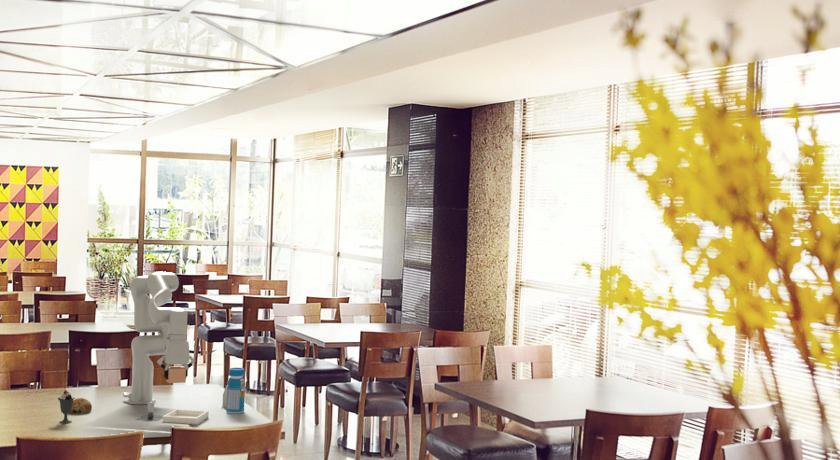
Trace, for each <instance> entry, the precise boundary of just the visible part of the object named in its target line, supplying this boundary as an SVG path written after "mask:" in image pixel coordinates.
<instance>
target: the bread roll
mask: <svg viewBox="0 0 840 460" xmlns="http://www.w3.org/2000/svg"><path fill="white" fill-rule="evenodd" d="M92 408H93V405H92V403H91V402H90V401H89V399H86V398H84V397H79V398H75V399H74V400H73V404H72V409H71V411H70V412H69V413H68V414H70V415H82V414H84V415H85V414H88V413H90V412H91V411H92Z"/></svg>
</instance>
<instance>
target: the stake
mask: <svg viewBox="0 0 840 460" xmlns="http://www.w3.org/2000/svg"><path fill="white" fill-rule="evenodd" d="M154 414H155V402H149V403H148V404H147V414H142V415H140V416H137V418H135V419H134V420H135V421H150V422H151V421H152V422H159V421H160V420H162V416H163V415H157V414H155V415H154Z"/></svg>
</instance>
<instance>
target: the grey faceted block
mask: <svg viewBox="0 0 840 460" xmlns="http://www.w3.org/2000/svg"><path fill="white" fill-rule="evenodd" d="M227 387H228V385H225V388H224V390H223V394H222V405H221V407H222V408H225V409H226V402H227Z"/></svg>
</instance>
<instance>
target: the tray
mask: <svg viewBox="0 0 840 460" xmlns="http://www.w3.org/2000/svg"><path fill="white" fill-rule="evenodd" d="M161 416H162V419H161V421H162V423H178V424H188V426H196V427H197V426H198V425H200V424H201V423H203V422H205V421H206V420H207V419H209V411H208V410H197V409H196V410H195V409H194V410H193V409H180V408H176V409H174V410H171V411H170V412H168V413H166V414H164V415H161Z"/></svg>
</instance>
